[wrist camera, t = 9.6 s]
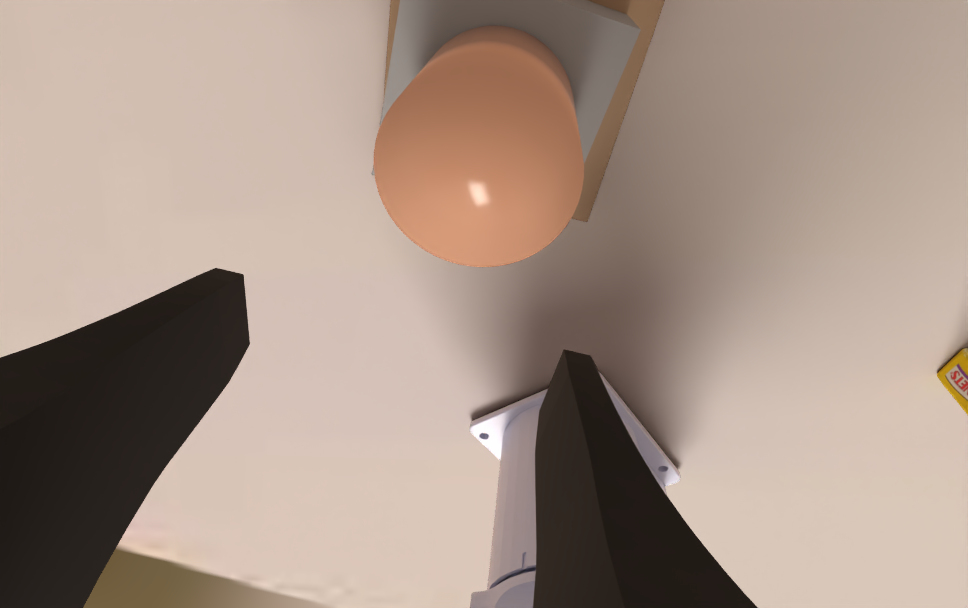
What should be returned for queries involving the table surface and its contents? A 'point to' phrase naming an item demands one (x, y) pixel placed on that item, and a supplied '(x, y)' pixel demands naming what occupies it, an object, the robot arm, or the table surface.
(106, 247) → the table surface
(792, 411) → the table surface
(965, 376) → the candy box
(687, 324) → the table surface
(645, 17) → the tower base
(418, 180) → the clay cylinder
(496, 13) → the tower block
